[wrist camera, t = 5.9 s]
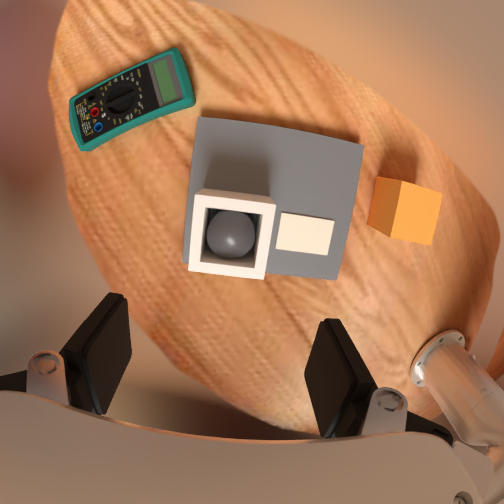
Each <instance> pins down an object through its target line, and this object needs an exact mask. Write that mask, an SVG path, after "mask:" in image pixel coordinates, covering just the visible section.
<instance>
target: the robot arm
mask: <svg viewBox="0 0 504 504" xmlns="http://www.w3.org/2000/svg"><path fill="white" fill-rule="evenodd" d="M464 347H465V339H464V336H463V335H462V334H461V333H460V332H459V331H458V330H454V329H453V330H447V331H444V332H442V333H440V334H438V335H437V336H435V337H434V338H432V339H431V340H430V341H429V342H428V343H427V344H426V345H425V346H424V347H423V348H422V349H421V350H420V352H419V353H418V354H417V356H416V357H415V359H414V361H413V363H412V366H411V369H410V378H411V380H412V382H413V383H414V384H415V385H416V386H419V387H425V386H426V387H427V388H428V390H429V391H430V393H431V394H432V396H433V397H434V399H435V400H436V402H437V403H438V405H439V406H440V408H441V409H442V411H443V412H444V413H445V415H446V417H447V418H448V420H449V421H450V423H451V424H452V426H453V427H454V429H455V430H456V432H457V433H458V435H459V437H460V438H461V439H462V440H463V441H464V442H465V443H467V444H470V445H485V446H487V447H488V448H487V450H486V451H485V452H484V453H483V454H481V453H479V452H478V451H476V450H474V449H472V448H470V447H468V446H466V445H465V444H463V443H461V442H459V441H456V442H455V443H454V442H453V437H452V435H451V433H450V432H449V431H448V430H447V429H446V428H445V427H443V426H441V425H438V424H436V423H434V422H432V421H429V420H427V419H425V418H423V417H420V416H418V415H416V414H414V413H411V412H409V411H407V408H408V403H407V400H406V398H405V396H404V395H403V394H402V393H400V392H399V391H397V390H395V389H393V388H388V387H382V388H378V387H377V385H376V383H375V381H374V379H373V378H372V376H371V374H370V372H369V370H368V368H367V367H366V365H365V363H364V361H363V359H362V358H361V356H360V354H359V352H358V350H357V349H356V347H355V345H354V343H353V342H352V340H351V338H350V336H349V335H348V333H347V331H346V329H345V328H344V326H343V324H342V323H341V321H340V320H339V319H332V318H326V319H325V320H324V321H321V322H320V324H319V327H318V330H317V334H316V337H315V340H314V343H313V346H312V350H311V353H310V356H309V359H308V362H307V365H306V368H305V372H304V377H305V381H306V385H307V388H308V392H309V395H310V399H311V402H312V406H313V410H314V413H315V417H316V421H317V424H318V428H319V432H320V435H321V437H325V439H314V440H278V441H277V440H243V439H228V438H217V437H207V436H198V435H190V434H184V433H177V432H171V431H165V430H160V429H154V428H150V427H144V426H140V425H135V424H131V423H127V422H123V421H119V420H115V419H112V418H108V417H104V416H101V414H106V412H107V410H108V408H109V405H110V403H111V401H112V398H113V396H114V394H115V391H116V389H117V387H118V385H119V383H120V380H121V378H122V375H123V374H124V371H125V369H126V367H127V365H128V363H129V361H130V359H131V355H132V348H131V339H130V329H129V317H128V302H127V299H126V298H124V297H123V295H122V294H117V293H112V292H109V293H108V294H107V295H106V296H105V298H104V299H103V300H102V301H101V302H100V303H99V305H98V306H97V307H96V308H95V309H94V311H93V312H92V313H91V314H90V315H89V317H88V318H87V319H86V320H85V321H84V322H83V323H82V324H81V325H80V327H79V328H78V329H77V330H76V332H75V333H74V334H73V335H72V337H71V338H70V339H69V340H68V342H67V343H66V344H65V346H64V347H63V348H62V350H61V351H60V352H59V353H57V352H54V351H47V350H46V351H40V352H38V353H36V354H34V355H33V356H32V357H31V358H30V359H29V361H28V365H27V370H24V371H20V372H17V373H12V374H8V375H4V376H0V504H497V503H499V501H501V500H502V499H504V392H503V390H502V389H501V388H500V387H499V386H498V385H497V383H496V382H495V381H494V380H493V379H492V378H491V377H490V376H489V374H488V373H487V372H486V371H485V370H484V369H483V368H482V367H481V366H480V365H479V364H478V363H477V361H476V360H475V355H474V354H469V353H468V352H467V351H466V350H465V349H464Z"/></svg>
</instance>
